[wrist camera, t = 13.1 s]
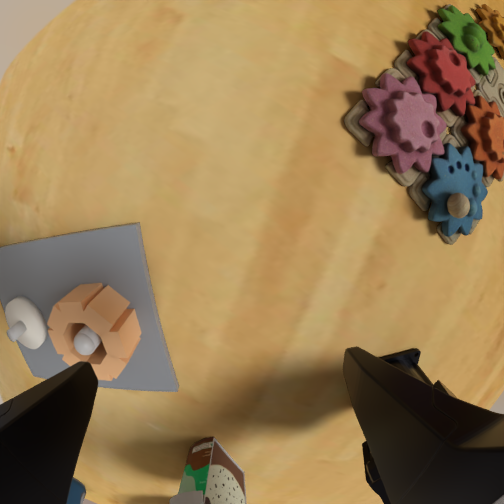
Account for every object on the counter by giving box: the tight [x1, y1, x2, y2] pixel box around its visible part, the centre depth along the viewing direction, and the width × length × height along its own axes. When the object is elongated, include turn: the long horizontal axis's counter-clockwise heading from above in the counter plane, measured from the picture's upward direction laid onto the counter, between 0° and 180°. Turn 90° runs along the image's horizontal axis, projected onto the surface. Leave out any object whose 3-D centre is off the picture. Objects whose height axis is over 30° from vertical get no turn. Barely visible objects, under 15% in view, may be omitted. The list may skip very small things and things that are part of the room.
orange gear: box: [47, 283, 142, 381], centre depth 19 cm, size 7×7×4 cm
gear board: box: [0, 222, 179, 392], centre depth 19 cm, size 18×15×5 cm
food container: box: [170, 437, 247, 504], centre depth 22 cm, size 12×6×10 cm, turn 20°
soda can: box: [67, 477, 86, 504], centre depth 26 cm, size 7×7×12 cm
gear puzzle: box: [344, 4, 504, 245], centre depth 15 cm, size 31×16×4 cm, turn 141°
